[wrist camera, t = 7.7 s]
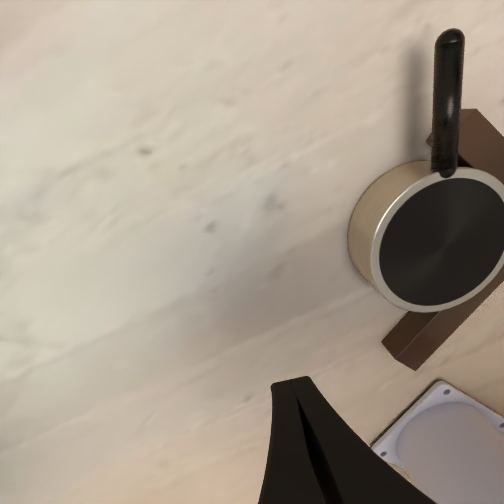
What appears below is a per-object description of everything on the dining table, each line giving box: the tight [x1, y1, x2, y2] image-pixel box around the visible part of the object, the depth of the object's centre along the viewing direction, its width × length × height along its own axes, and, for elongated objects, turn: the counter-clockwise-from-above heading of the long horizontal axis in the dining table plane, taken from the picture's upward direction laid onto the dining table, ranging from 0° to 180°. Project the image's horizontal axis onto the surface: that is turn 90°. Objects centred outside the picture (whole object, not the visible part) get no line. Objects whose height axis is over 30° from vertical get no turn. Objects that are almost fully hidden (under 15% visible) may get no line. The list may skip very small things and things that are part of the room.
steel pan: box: [348, 28, 504, 313], centre depth 18 cm, size 14×8×3 cm, turn 10°
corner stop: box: [382, 109, 504, 371], centre depth 20 cm, size 9×13×2 cm
